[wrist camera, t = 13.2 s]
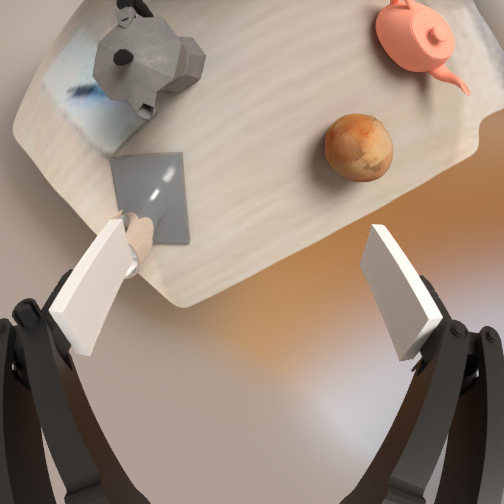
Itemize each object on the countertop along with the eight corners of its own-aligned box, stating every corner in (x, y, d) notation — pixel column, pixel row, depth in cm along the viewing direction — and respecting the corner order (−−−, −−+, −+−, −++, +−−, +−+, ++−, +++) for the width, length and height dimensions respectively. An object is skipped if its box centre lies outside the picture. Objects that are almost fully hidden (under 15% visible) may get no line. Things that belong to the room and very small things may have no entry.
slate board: (113, 157, 38) (109, 159, 37) (182, 152, 39) (180, 154, 38) (129, 239, 48) (127, 243, 47) (190, 240, 48) (189, 243, 47)
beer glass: (143, 175, 39) (101, 223, 27) (178, 199, 42) (151, 256, 30) (124, 206, 42) (84, 260, 30) (157, 228, 45) (128, 289, 33)
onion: (383, 119, 35) (416, 134, 27) (365, 175, 41) (391, 202, 33) (326, 100, 34) (349, 108, 26) (310, 161, 40) (327, 186, 32)
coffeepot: (214, 97, 34) (188, 111, 19) (153, 112, 35) (92, 141, 20) (197, 4, 25) (160, -40, 10) (134, 23, 26) (65, 3, 11)
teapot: (400, -15, 20) (432, -27, 13) (455, 75, 29) (491, 82, 21) (348, 8, 25) (374, -7, 17) (411, 102, 33) (446, 113, 25)
